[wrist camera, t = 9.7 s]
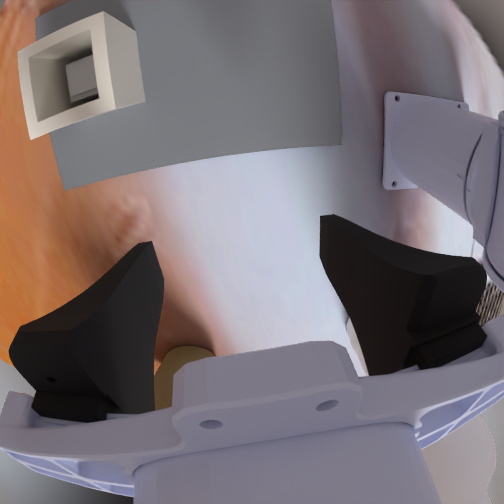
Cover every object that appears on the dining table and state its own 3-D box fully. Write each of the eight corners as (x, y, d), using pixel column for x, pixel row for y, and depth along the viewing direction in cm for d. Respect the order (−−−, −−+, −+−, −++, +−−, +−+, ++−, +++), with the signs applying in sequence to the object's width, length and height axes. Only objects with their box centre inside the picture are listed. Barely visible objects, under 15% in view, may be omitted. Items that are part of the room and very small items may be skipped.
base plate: (319, -33, 12) (343, -55, 8) (336, 141, 20) (364, 157, 16) (42, 20, 11) (8, 12, 7) (70, 186, 19) (43, 210, 15)
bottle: (404, 325, 32) (504, 531, 7) (347, 348, 32) (429, 576, 7) (408, 277, 28) (546, 523, 2) (341, 304, 28) (454, 590, 3)
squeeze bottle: (153, 375, 31) (146, 520, 16) (156, 331, 27) (141, 513, 12) (220, 383, 33) (233, 524, 18) (235, 341, 29) (257, 517, 14)
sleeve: (136, 31, 13) (103, 11, 8) (145, 101, 16) (115, 108, 11) (67, 55, 13) (17, 52, 8) (77, 121, 15) (30, 140, 10)
